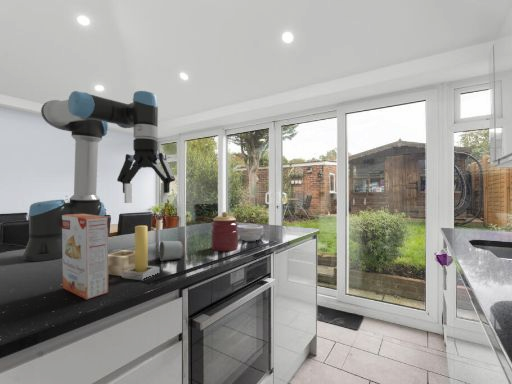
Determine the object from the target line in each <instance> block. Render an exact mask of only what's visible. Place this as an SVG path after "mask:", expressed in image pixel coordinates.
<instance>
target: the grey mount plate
mask: <svg viewBox="0 0 512 384" xmlns="http://www.w3.org/2000/svg"><path fill="white" fill-rule="evenodd" d="M157 273H158V274H160V266H156V265H155V266H154V265H148V270H146V271H144V272H136V271H135V267H133V268H130V269H127V270H125V271H122V276H121V278H123V279H130V280H137V281H144V280H143V279H144V278H146V277H149V276H151V277H153V276H152V275H154V276H155V274H156V275H157ZM149 278H150V277H149Z"/></svg>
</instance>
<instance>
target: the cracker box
mask: <svg viewBox="0 0 512 384" xmlns="http://www.w3.org/2000/svg"><path fill="white" fill-rule="evenodd" d="M108 217H109V216H106V215H104V216H97V215H89V214H68V215H62V256H63V257H62V288H63V289H64V290H66V291H68V292H70V293H72V294H74V295H76V296H78V297H81V298H83V299H84V300H91V299H93V298H96V297H99V296H103V295H105V294H108V293H109V274H108V254H109V218H108Z"/></svg>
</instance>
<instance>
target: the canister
mask: <svg viewBox="0 0 512 384" xmlns="http://www.w3.org/2000/svg"><path fill="white" fill-rule="evenodd" d="M212 220H213V222H211V224H210V226H211V231H210V232H211V233H210V235H211V236H210V239H211V241H210V247H211V248H210V249H211V250H213V251H216V252H231V251H236V250H237V249H238V247H239V238H238V237H239V235H238V230H237V226H238V225H239V223H238V222H237V221H236V220H237V218H236V217H234V216H232V215H228V213H227V211H223V212H222V213H221V215H217V216H215V217H214V218H212Z"/></svg>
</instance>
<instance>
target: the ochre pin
mask: <svg viewBox="0 0 512 384" xmlns="http://www.w3.org/2000/svg"><path fill="white" fill-rule="evenodd" d="M148 230H149V229H148V225H135V226H134V251H135V271H136V272H144V271H146V270H148V266H149V264H148V261H149V260H148V257H149V256H148V251H149V250H148V244H149V243H148V241H149V240H148V235H149V234H148V232H149V231H148Z"/></svg>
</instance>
